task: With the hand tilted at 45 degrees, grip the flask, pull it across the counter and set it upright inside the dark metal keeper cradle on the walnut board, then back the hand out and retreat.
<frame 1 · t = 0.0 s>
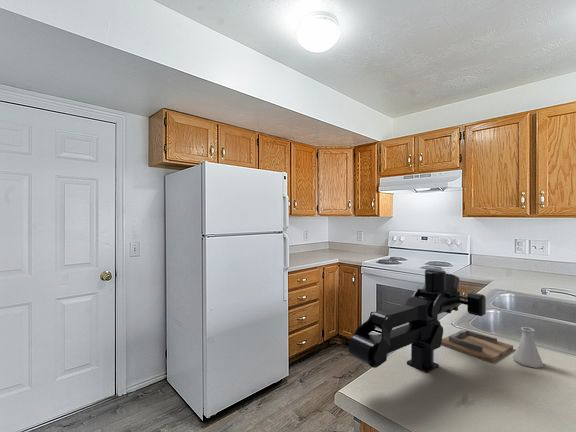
hand: (464, 295, 102), 17 cm above the counter, tool horizontal, fingers open, 9 cm apart
flask: (527, 363, 89), on the counter
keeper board: (475, 346, 100), on the counter
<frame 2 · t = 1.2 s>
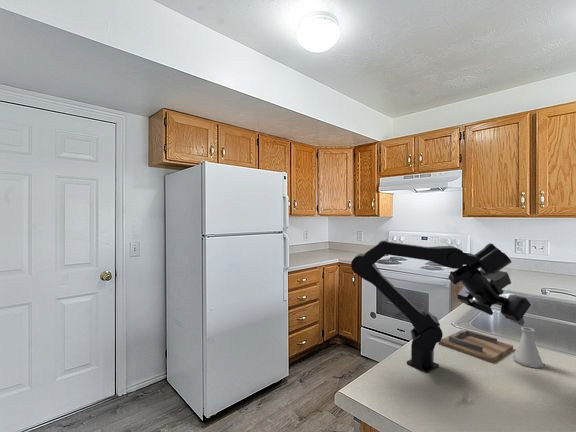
hand: (506, 318, 87), 14 cm above the counter, tool tilted 45°, fingers open, 9 cm apart
nothing on the counter moved.
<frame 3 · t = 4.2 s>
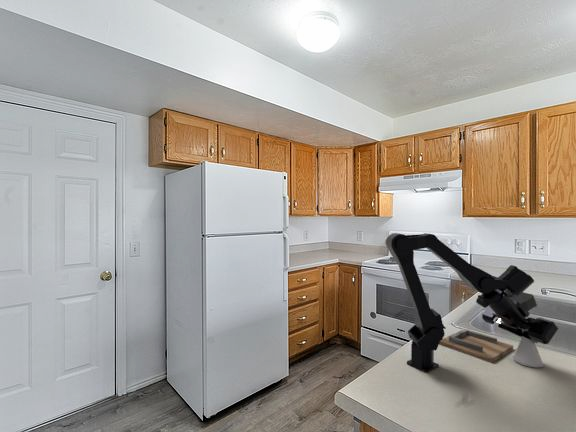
hand: (531, 339, 90), 7 cm above the counter, tool tilted 45°, fingers closed on flask, 3 cm apart
flask: (527, 363, 89), on the counter, touching gripper
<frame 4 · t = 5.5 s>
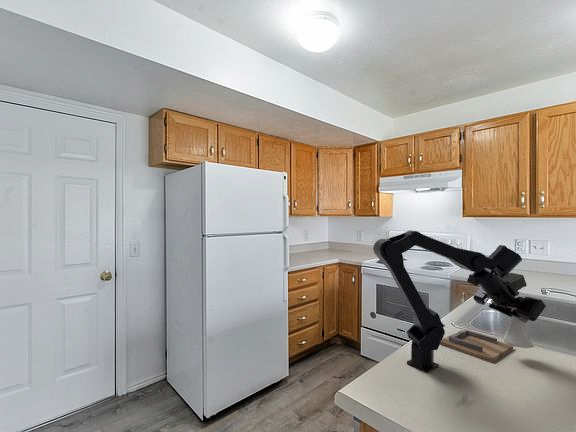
hand: (521, 319, 91), 12 cm above the counter, tool tilted 45°, fingers closed on flask, 3 cm apart
flask: (517, 344, 91), point 5 cm above the counter, touching gripper
when the fingers open (9 cm above the counter, at t = 7.2 s): flask stays where it is, resting on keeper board.
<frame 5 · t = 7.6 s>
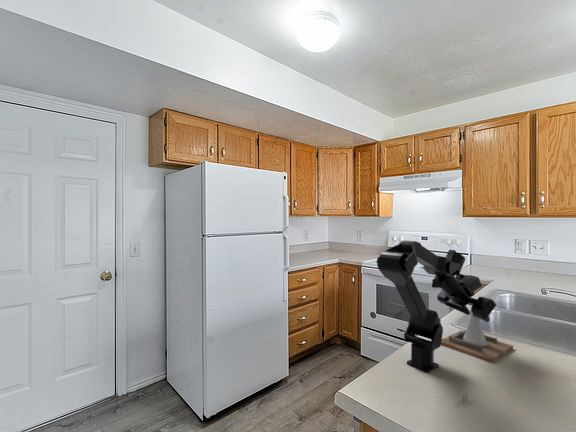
hand: (478, 317, 101), 10 cm above the counter, tool tilted 45°, fingers open, 7 cm apart
flask: (475, 343, 100), point 1 cm above the counter, touching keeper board
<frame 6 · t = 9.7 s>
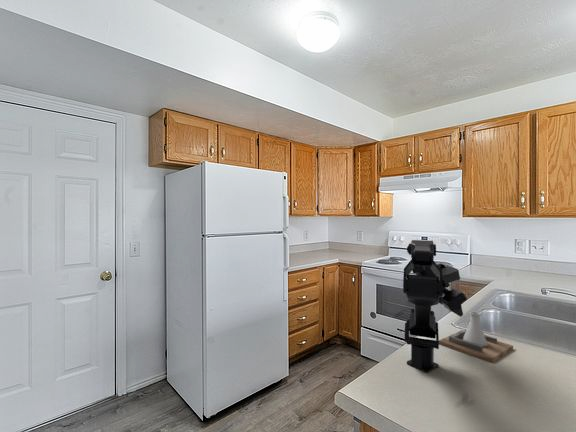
hand: (451, 309, 99), 13 cm above the counter, tool tilted 40°, fingers open, 9 cm apart
nothing on the counter moved.
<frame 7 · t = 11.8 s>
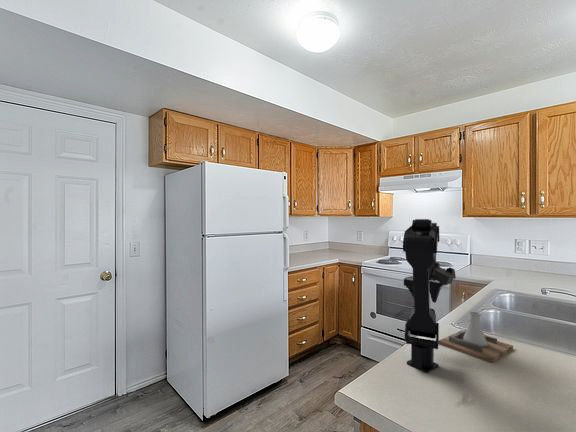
hand: (426, 304, 103), 13 cm above the counter, tool pointing down, fingers open, 9 cm apart
nothing on the counter moved.
at the end: flask 0.3 cm off-centre on the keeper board, point 1.0 cm above the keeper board's base; flask tilted 0°; the gripper is holding nothing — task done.
